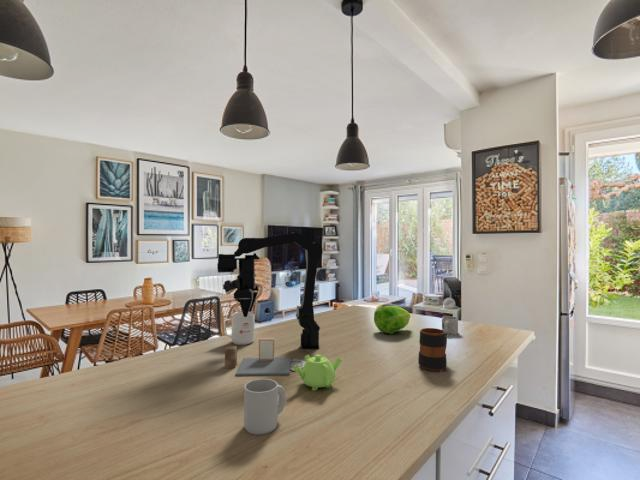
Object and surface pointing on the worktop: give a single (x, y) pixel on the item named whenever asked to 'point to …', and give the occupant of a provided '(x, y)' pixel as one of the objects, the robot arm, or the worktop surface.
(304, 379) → the teapot
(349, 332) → the worktop surface
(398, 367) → the worktop surface
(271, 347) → the tile
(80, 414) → the worktop surface
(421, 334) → the mug
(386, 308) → the lettuce
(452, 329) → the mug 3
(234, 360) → the walnut block
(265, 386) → the cup
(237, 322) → the mug
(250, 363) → the mat
